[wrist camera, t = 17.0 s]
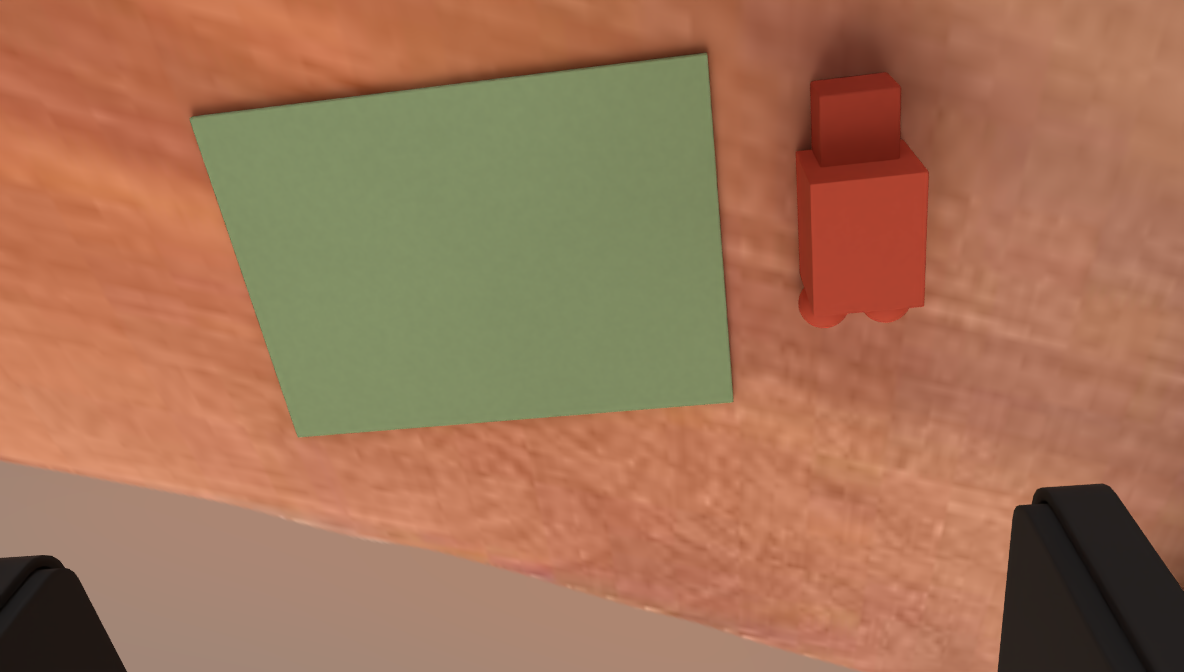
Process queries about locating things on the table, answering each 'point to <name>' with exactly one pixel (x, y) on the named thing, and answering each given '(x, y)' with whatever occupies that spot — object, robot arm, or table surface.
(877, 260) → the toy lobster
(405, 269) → the green cloth
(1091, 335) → the table surface
